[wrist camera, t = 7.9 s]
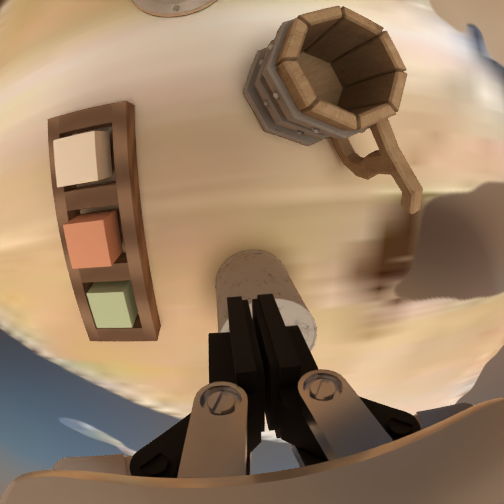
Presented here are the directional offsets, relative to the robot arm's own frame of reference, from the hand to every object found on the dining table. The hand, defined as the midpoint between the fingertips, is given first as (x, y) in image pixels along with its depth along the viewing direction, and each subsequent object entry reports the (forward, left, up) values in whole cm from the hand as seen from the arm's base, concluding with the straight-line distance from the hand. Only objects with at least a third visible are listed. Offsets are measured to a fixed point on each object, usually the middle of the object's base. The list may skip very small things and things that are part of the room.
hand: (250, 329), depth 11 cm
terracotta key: (+2, -15, -23) cm, 28 cm away
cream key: (-7, -15, -23) cm, 28 cm away
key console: (+2, -15, -25) cm, 29 cm away
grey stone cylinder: (+11, +3, -25) cm, 28 cm away
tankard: (-10, +11, -25) cm, 29 cm away
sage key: (+11, -15, -25) cm, 31 cm away
